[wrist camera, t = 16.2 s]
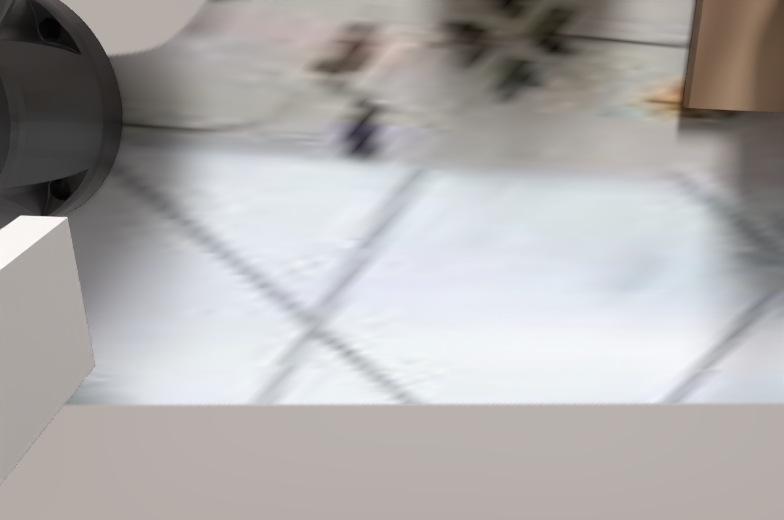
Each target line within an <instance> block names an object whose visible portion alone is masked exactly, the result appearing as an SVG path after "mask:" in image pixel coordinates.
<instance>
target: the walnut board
mask: <svg viewBox="0 0 784 520" xmlns="http://www.w3.org/2000/svg"><path fill="white" fill-rule="evenodd" d="M682 107H686V108H700V109H720V110H740V111H760V112H780V113H784V0H697V3H696V10H695V17H694V25H693V32H692V39H691V47H690V54H689V61H688V69H687V76H686V83H685V91H684V98H683V105H682Z"/></svg>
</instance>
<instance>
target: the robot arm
mask: <svg viewBox="0 0 784 520" xmlns="http://www.w3.org/2000/svg"><path fill="white" fill-rule="evenodd" d="M121 125H122V110H121V100H120V93H119V89H118V84H117V81H116V77H115V74H114V71H113V68H112V66H111V63H110V61H109V59H108V57H107V55H106V53H105V51H104V49H103V47H102V46H101V44H100V42H99V41H98V39H97V38H96V36H95V35H94V34H93V32H92V31H91V29H90V28H89V27H88V26H87V25H86V23H85V22H84V21H83V20H82V19H81V18H80V17H79V16H78V15H77V14H76V13H75V12H74V11H72V10H71V9H70V8H69V7H68V6H67V5H65V4H64V3H62V2H61V1H60V0H0V228H2V229H1V230H0V485H1V483H2V482H3V481H4V480H5V479H6V477H7V476H8V475H9V474H10V472H11V471H12V470H13V468H14V467H15V466H16V465H17V463H18V462H19V461H20V460H21V458H22V457H23V456H24V455H25V453H26V452H27V451H28V450H29V448H30V447H31V446H32V445H33V443H34V442H35V441H36V440H37V438H38V437H39V436H40V435H41V433H42V432H43V430H45V428H46V427H47V426H48V424H49V423H50V422H51V421H52V420H53V418H54V417H55V416H56V414H57V413H58V412H59V411H60V409H61V408H62V407H63V406H64V404H65V403H66V402H67V401H68V399H69V398H70V397H71V396H72V394H73V393H74V392H75V391H76V389H77V388H78V387H79V386H80V384H81V383H82V382H83V381H84V379H85V378H86V377H87V376H88V374H89V373H90V372H91V371H92V369H93V368H94V367H95V361H94V356H93V351H92V345H91V340H90V334H89V329H88V324H87V318H86V313H85V308H84V302H83V297H82V292H81V286H80V281H79V276H78V270H77V265H76V259H75V254H74V249H73V243H72V238H71V233H70V227H69V222H68V217H60V216H63V215H65V214H67V213H69V212H71V211H73V210H74V209H76V208H77V207H79V206H80V205H82V204H83V203H84V202H85V201H87V200H88V199H89V198H90V197H91V196H92V195H93V194H94V193H95V192H96V190H97V189H98V188H99V187H100V186H101V184H102V183H103V181H104V180H105V178H106V176H107V175H108V173H109V171H110V169H111V167H112V165H113V162H114V159H115V157H116V153H117V150H118V146H119V141H120V135H121Z"/></svg>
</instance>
